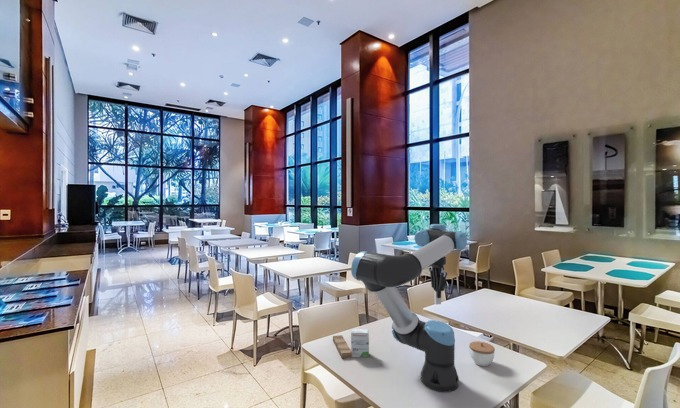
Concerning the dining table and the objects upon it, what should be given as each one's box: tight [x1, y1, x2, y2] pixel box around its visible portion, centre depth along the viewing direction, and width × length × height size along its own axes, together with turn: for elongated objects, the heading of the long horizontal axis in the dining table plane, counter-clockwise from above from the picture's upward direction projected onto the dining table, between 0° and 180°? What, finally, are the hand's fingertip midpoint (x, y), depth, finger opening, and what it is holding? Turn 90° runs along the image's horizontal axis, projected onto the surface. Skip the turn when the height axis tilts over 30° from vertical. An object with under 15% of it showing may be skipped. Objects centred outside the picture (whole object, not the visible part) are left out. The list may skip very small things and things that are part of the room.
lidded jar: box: [468, 340, 496, 367], centre depth 148 cm, size 11×11×9 cm
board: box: [332, 334, 353, 360], centre depth 162 cm, size 20×5×2 cm, turn 13°
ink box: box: [350, 328, 370, 358], centre depth 156 cm, size 9×5×12 cm, turn 85°
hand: (437, 303), depth 157 cm, fingers closed
